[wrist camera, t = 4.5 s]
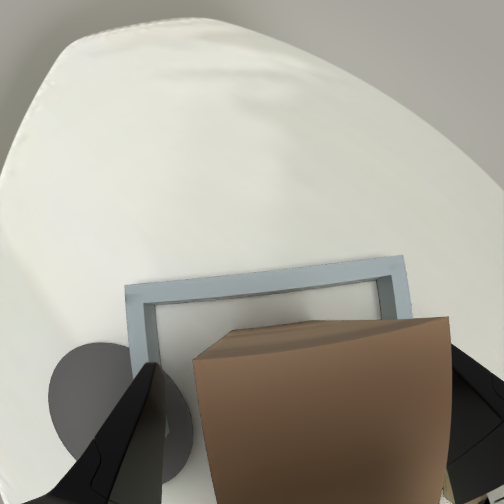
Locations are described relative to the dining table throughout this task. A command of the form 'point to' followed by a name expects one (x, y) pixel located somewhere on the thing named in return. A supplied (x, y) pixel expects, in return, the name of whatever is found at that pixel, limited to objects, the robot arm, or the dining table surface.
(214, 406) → the walnut block
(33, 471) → the dining table surface
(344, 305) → the dining table surface
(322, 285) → the grey u-frame
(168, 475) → the coaster
